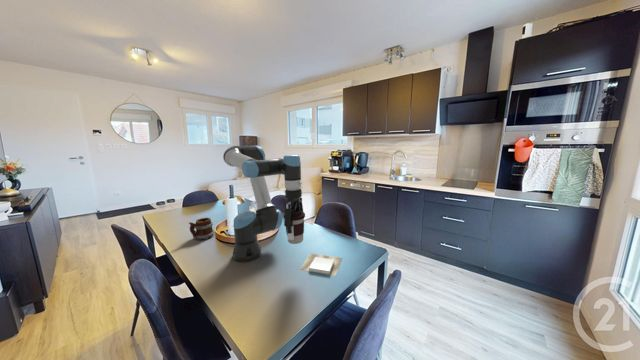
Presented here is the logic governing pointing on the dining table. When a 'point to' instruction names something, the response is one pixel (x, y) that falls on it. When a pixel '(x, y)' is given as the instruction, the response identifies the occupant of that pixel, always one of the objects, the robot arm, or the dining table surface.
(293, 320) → the dining table surface
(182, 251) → the dining table surface
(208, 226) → the mug
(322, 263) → the tile
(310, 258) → the board
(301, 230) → the coffee cup
